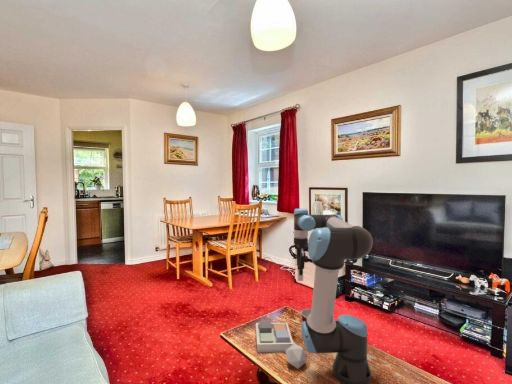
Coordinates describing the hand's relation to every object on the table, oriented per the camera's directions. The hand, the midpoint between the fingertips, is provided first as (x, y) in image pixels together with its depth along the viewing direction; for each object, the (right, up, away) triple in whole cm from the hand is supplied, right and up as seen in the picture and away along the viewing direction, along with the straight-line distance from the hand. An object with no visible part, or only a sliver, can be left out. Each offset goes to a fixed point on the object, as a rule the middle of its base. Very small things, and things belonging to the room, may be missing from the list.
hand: (300, 280), depth 154 cm
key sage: (-19, -25, -16) cm, 35 cm away
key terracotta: (-12, -25, -7) cm, 28 cm away
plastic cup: (+4, -27, -7) cm, 28 cm away
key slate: (-11, -24, -16) cm, 31 cm away
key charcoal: (-19, -23, -7) cm, 31 cm away
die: (-7, -28, -30) cm, 41 cm away
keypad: (-15, -27, -11) cm, 33 cm away
